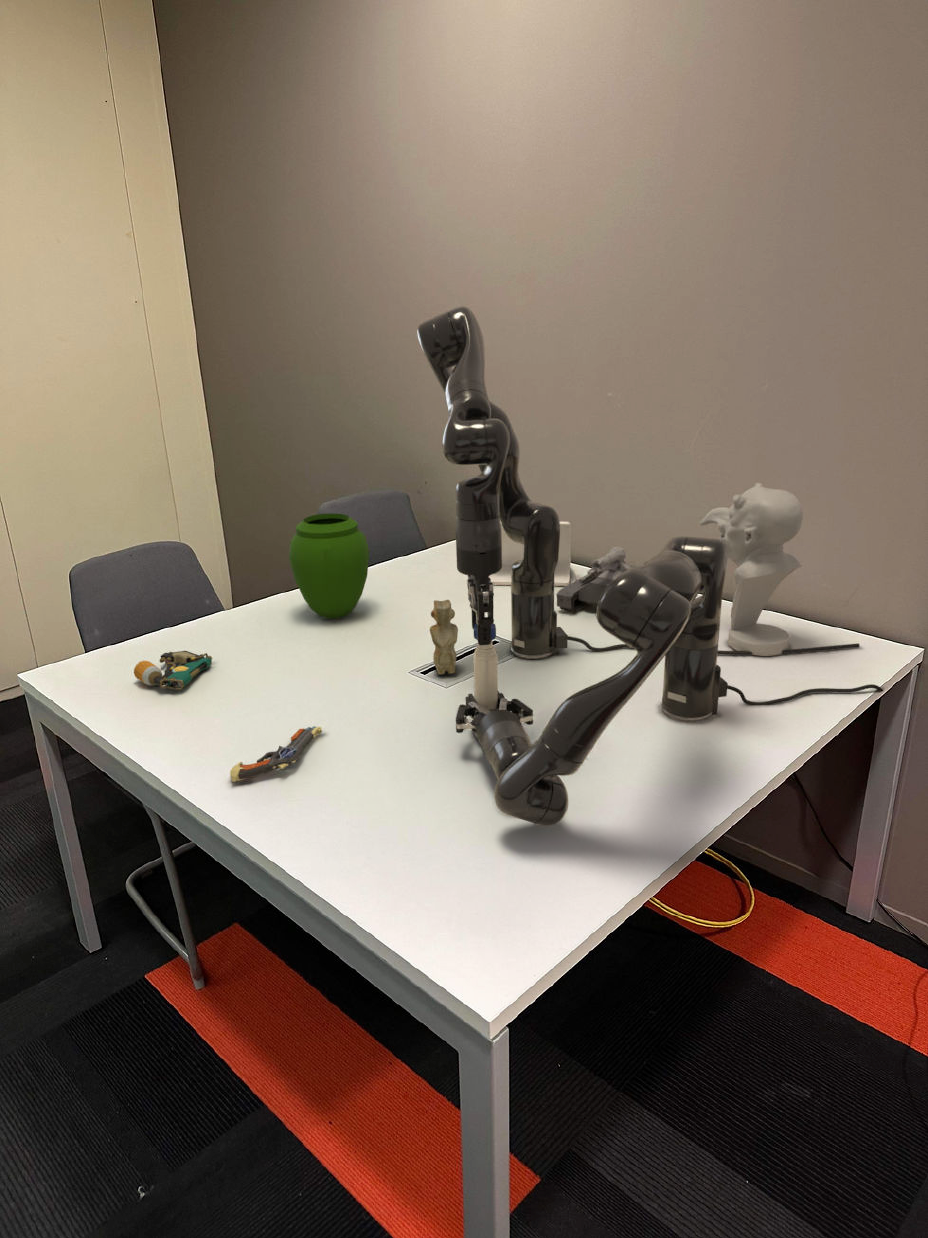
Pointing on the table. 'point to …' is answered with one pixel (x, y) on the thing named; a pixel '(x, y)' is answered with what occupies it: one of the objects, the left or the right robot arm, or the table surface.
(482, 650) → the bottle
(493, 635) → the cap
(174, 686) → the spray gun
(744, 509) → the bust sculpture
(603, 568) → the toy
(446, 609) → the sculpture
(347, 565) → the vase
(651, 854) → the table surface
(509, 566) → the tablet stand
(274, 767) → the toy gun
